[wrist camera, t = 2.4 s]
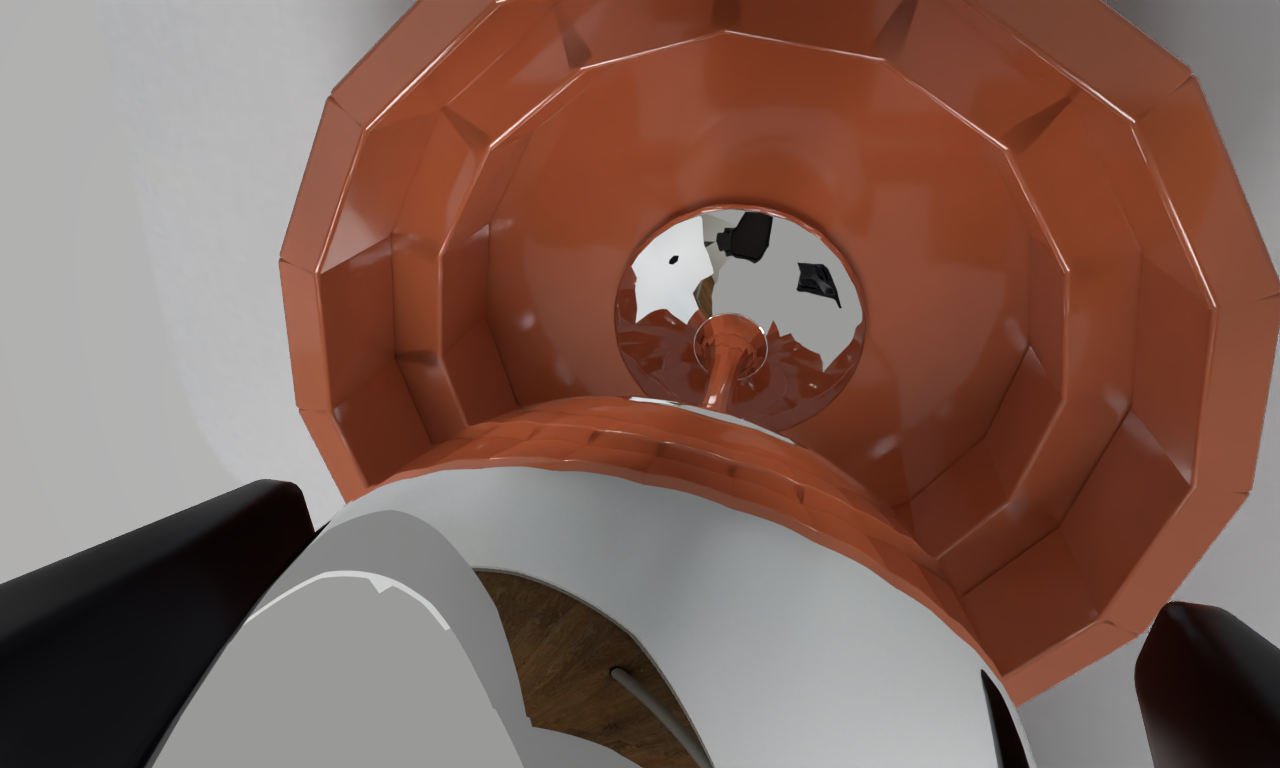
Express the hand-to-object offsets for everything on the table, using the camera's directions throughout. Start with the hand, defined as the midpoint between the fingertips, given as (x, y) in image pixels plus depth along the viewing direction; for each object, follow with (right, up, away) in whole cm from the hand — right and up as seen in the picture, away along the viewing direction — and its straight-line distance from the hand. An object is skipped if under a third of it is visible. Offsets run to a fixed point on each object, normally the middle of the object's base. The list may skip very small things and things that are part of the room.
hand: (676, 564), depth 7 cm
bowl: (+1, +3, +5) cm, 6 cm away
